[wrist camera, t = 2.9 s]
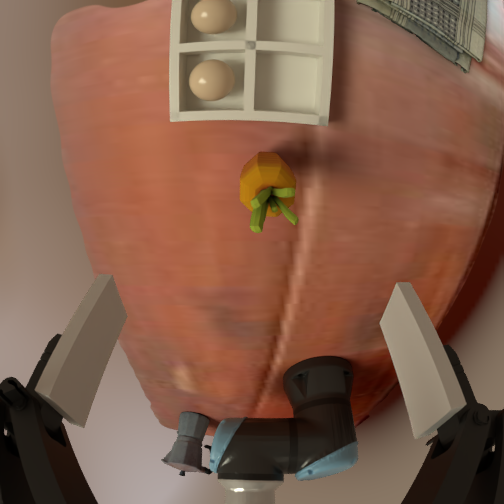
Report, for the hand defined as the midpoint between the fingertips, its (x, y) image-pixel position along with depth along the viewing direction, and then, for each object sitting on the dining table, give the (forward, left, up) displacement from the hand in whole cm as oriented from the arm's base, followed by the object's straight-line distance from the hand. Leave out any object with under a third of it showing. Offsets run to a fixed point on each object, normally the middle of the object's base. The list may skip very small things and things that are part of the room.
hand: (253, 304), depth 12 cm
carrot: (-1, 0, -23) cm, 23 cm away
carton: (+1, -13, -23) cm, 27 cm away
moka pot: (+15, +72, -23) cm, 77 cm away
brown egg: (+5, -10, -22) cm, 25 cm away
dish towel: (-21, -27, -24) cm, 42 cm away
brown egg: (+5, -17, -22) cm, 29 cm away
